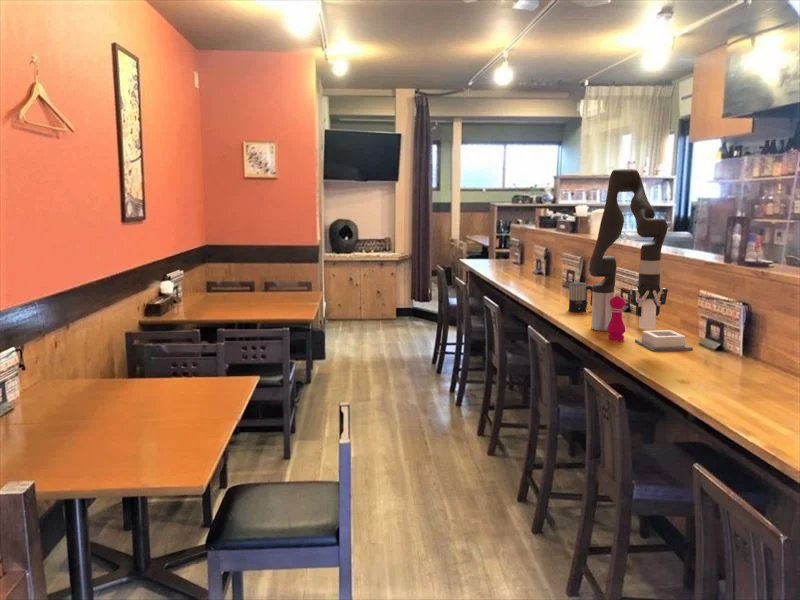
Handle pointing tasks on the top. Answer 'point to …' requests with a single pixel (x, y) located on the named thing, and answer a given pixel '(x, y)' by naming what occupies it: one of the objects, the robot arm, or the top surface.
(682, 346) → the holder
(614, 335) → the pepper mill
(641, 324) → the white pointed cylinder
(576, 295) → the milk frother
